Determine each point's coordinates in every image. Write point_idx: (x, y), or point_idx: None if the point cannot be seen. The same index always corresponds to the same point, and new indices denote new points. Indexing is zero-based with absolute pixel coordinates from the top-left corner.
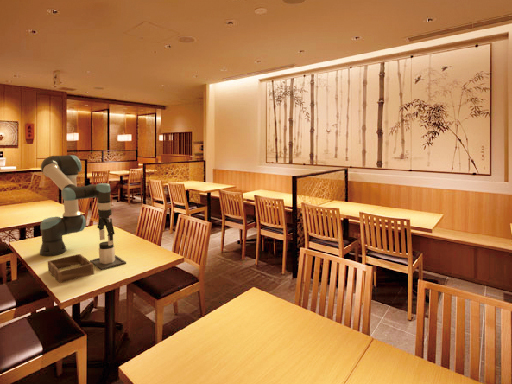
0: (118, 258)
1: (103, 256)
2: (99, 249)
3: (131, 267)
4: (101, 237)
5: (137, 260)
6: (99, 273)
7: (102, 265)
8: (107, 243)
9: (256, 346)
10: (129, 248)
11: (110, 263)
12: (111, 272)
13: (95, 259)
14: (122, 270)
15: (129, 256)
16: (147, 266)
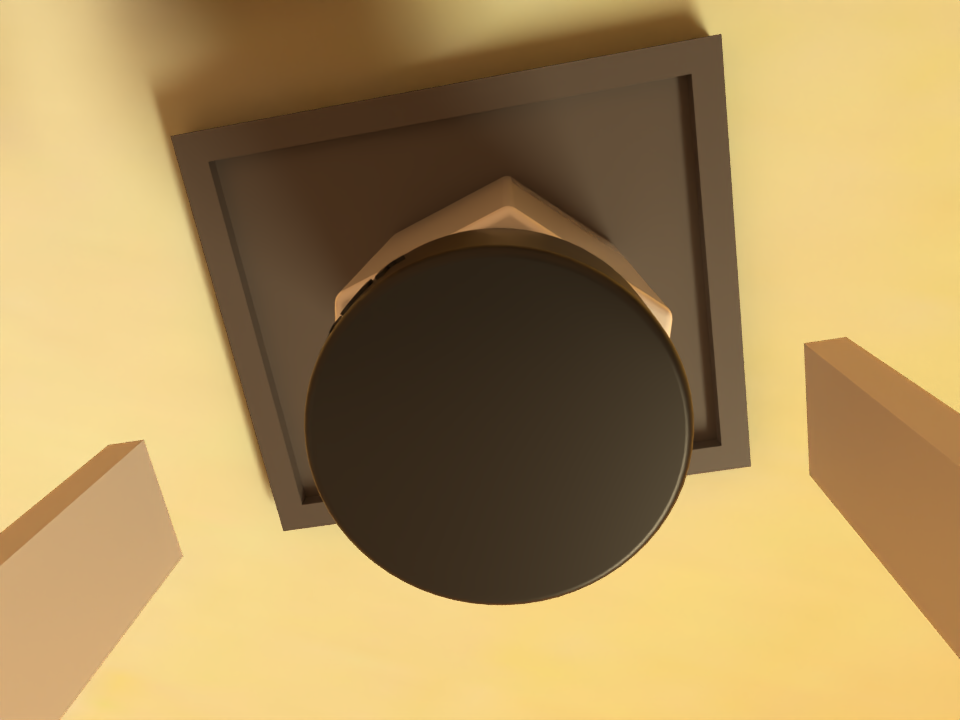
0: None
1: (382, 252)
2: (479, 217)
3: None
4: (845, 421)
5: (346, 666)
6: (64, 86)
7: (358, 194)
8: (452, 462)
9: None
10: (946, 714)
11: None
12: (30, 259)
13: (697, 136)
14: (46, 410)
15: (579, 626)
16: None
